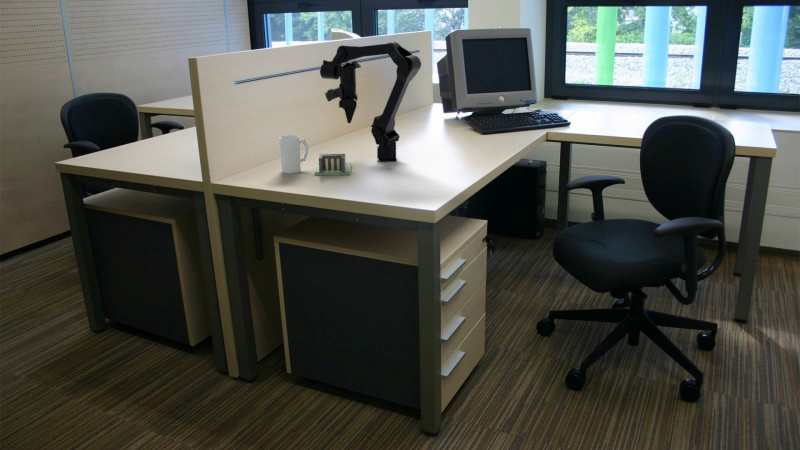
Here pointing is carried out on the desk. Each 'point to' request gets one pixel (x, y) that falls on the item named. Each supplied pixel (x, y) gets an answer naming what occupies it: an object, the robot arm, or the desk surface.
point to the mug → (292, 153)
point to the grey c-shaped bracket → (329, 157)
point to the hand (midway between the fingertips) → (349, 123)
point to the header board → (332, 171)
